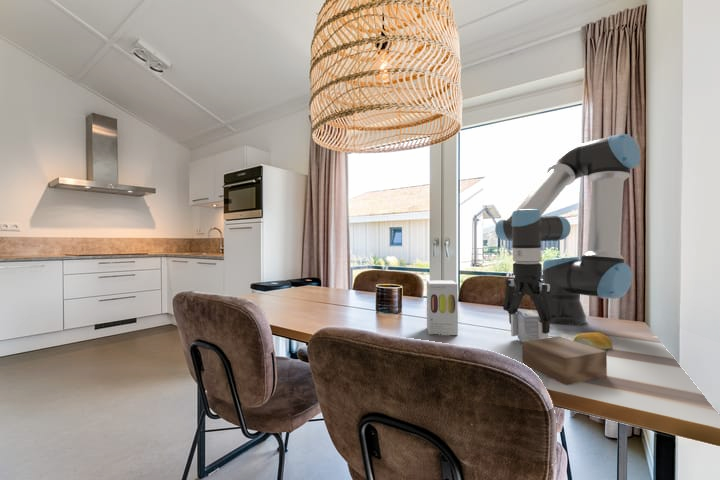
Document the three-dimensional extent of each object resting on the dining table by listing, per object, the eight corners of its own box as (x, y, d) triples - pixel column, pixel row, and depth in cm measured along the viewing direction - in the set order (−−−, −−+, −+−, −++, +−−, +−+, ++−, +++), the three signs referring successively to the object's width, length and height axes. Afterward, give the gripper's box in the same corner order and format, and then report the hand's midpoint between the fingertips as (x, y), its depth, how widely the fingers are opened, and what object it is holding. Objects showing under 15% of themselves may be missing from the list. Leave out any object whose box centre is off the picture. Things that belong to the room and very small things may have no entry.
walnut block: (559, 359, 87) (559, 336, 87) (606, 377, 75) (606, 351, 75) (522, 366, 83) (522, 341, 83) (566, 386, 71) (565, 358, 71)
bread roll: (617, 347, 94) (617, 333, 94) (597, 353, 91) (597, 338, 90) (587, 339, 102) (587, 326, 102) (567, 344, 98) (567, 330, 98)
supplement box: (428, 335, 109) (427, 283, 109) (426, 327, 118) (425, 279, 118) (458, 336, 108) (458, 283, 107) (454, 328, 117) (453, 279, 117)
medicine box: (541, 347, 94) (540, 316, 94) (524, 347, 95) (523, 316, 95) (533, 338, 102) (532, 310, 102) (517, 338, 103) (516, 310, 103)
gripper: (489, 261, 106) (491, 332, 107) (552, 265, 87) (554, 353, 87) (506, 259, 109) (508, 328, 110) (571, 264, 90) (573, 348, 90)
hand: (528, 339), depth 98 cm, fingers closed on medicine box, 9 cm apart
